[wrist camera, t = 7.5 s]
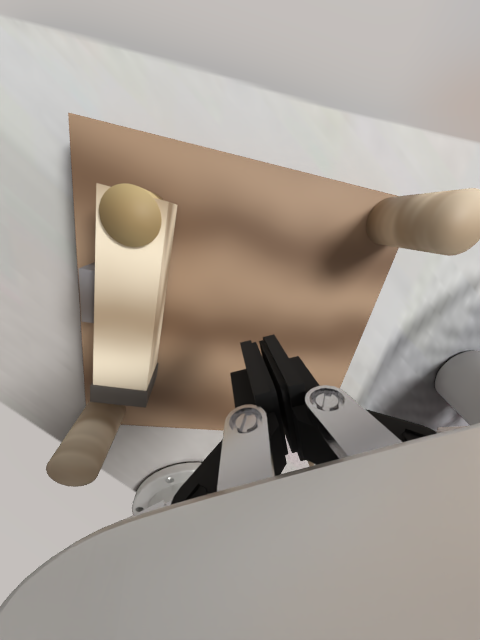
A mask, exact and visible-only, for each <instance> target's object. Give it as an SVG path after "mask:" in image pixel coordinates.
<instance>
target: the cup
mask: <svg viewBox="0 0 480 640" xmlns="http://www.w3.org/2000/svg"><path fill="white" fill-rule="evenodd" d="M435 388H436V390H437V392H438V393H439V394H440V395H441V396H442V397H443V398H444V399H445V400H446V401H447V402H448V403H449V404H450V405H451V406H452V407H453V408H454V409H455V410H456V411H457V412H458V413H459V415H460V416H461V417H462V418H463V419H464V420H465V421H466V422H467V423H468V424H469V425H474V424H478V423H480V351H474V350H473V351H466V352H463V353H461V354H458V355H456V356H454V357H453V358H451V359H450V360H448V361H447V362H446V363H445V364H444V365H443V366H442V367H441V368H440V370H439V372H438V374H437V376H436V380H435Z"/></svg>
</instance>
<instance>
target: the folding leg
mask: <svg viewBox="0 0 480 640" xmlns="http://www.w3.org/2000/svg"><path fill="white" fill-rule="evenodd" d="M176 213H177V205H176V204H174V203H171V202H168V201H164V200H163V199H162V198H161V197H160V196H159V195H157V194H155V193H153V192H150V191H148V190H146V189H143V188H141V187H138V186H136V185H133V184H126V183H123V184H117V185H114V186H112V187H110V186H106V185H102V184H98V183H96V238H95V293H94V349H93V382H92V384H91V385H90V402H97V403H106V404H116V405H125V406H135V407H144V408H146V406H147V403H148V400H149V397H150V394H151V392H152V389H153V386H154V383H155V380H156V377H157V371H158V363H157V359H158V351H159V343H160V336H161V328H162V320H163V313H164V305H165V297H166V290H167V282H168V274H169V266H170V259H171V251H172V243H173V236H174V228H175V220H176Z"/></svg>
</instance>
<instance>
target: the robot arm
mask: <svg viewBox="0 0 480 640" xmlns="http://www.w3.org/2000/svg"><path fill="white" fill-rule="evenodd" d="M259 343H260V348H261V353H262V355H261V353H260V350H259V348H258V345H257V343H256V342H253V343H252V342H251V340H249V341H244V342H240V345H241V350H242V354H243V358H244V363H245V367H246V369H243V370H239V371H235V372H231V373H230V376H231V383H232V390H233V397H234V404H235V409H234V410H232V411H231V412H230V413H229V414H228V416H227V417H226V420H225V424H224V433H223V439H222V441H221V442H220V443H219V444H218V445H217V446H216V447H215V449H214V450H213V451H212V452H211V453H210V454H209V455H208V456H207V458H206V459H205V460H204V461H203V462H202V463H200V462H195V463H183V464H177V465H173V466H170V467H167V468H164V469H162V470H160V471H158V472H156V473H154V474H153V475H151V476H150V477H148V478H147V479H146V480H145V481H144V482H143V483H142V484H141V485H140V487H139V488H138V490H137V492H136V495H135V498H134V501H133V506H132V512H133V516H131V517H129V518H127V519H124V520H121V521H119V522H116V523H114V524H112V525H109V526H107V527H104V528H102V529H100V530H98V531H96V532H94V533H92V534H90V535H88V536H86V537H84V538H82V539H80V540H79V541H77V542H75V543H73V544H72V545H70V546H69V547H67V548H66V549H64V550H63V551H61V552H60V553H58V554H57V555H55V556H53V557H52V558H50V559H49V560H48V561H46V562H45V563H44V564H43V565H41V566H40V567H39V568H37V569H36V570H35V571H34V572H33V573H32V574H30V575H29V576H28V577H27V578H25V580H23V581H22V582H21V584H20V585H18V587H17V588H16V589H15V590H14V591H13V592H12V593H11V594H10V595H9V596H8V598H7V599H6V600H5V601H4V602H3V604H2V605H1V606H0V640H480V423H478V424H474V425H470V426H456V427H438V428H437V432H435V431H433V430H432V429H430V428H427V427H425V426H422V425H419V424H416V423H412V422H408V421H405V420H401V419H398V418H394V417H391V416H387V415H384V414H380V413H377V412H373V411H370V410H366V409H364V408H363V407H362V406H361V405H360V404H359V403H357V402H356V401H355V400H354V399H353V398H352V397H351V396H349V395H348V394H347V393H346V392H345V391H343V390H342V389H340V388H337V387H335V386H329V385H323V386H320V385H319V384H318V382H317V381H316V380H315V378H314V377H313V375H312V374H311V373H310V371H309V370H308V368H307V367H306V366H305V364H304V363H303V361H302V360H301V359H300V357H299V356H296V357H292V358H289V357H288V356H287V354H286V352H285V351H284V349H283V348H282V346H281V344H280V343H279V341H278V340H277V338H276V336H275V335H274V334H273V335H269V336H265V337H263V340H261V341H259ZM284 433H285V434H284ZM285 435H286V438H287V441H288V443H289V446H290V449H291V451H292V453H295V452H297V453H298V456H299V458H300V461H303V460H307V461H310V462H312V463H314V466H311V467H307V468H303V469H299V470H296V471H292V472H288V473H284V474H281V472H282V470H283V469H284V467H285V465H286V464H287V463H286V458H285V455H287V454H288V450H287V445H286V439H285ZM280 474H281V475H280Z"/></svg>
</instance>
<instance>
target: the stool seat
mask: <svg viewBox="0 0 480 640" xmlns="http://www.w3.org/2000/svg"><path fill="white" fill-rule="evenodd" d="M68 116H69V132H70V149H71V166H72V183H73V200H74V216H75V233H76V250H77V267H78V283H79V300H80V317H81V334H82V351H83V367H84V384H85V401H86V407H85V408H84V410H83V411H82V413H81V414H80V416H79V417H78V419H77V420H76V422H75V423H74V425H73V426H72V428H71V429H70V431H69V432H68V434H67V435H66V437H65V438H64V440H63V441H62V443H61V444H60V446H59V448H58V449H57V450H56V452H55V453H54V455H53V456H52V458H51V459H50V461H49V462H48V464H47V467H46V470H47V474H48V475H49V477H50V478H51V479H53V480H54V481H56V482H57V483H60V484H62V485H66V486H84V485H87V484H89V483H91V482H93V481H94V480H95V479H96V477H97V476H98V474H99V471H100V469H101V467H102V465H103V462H104V460H105V458H106V456H107V453H108V451H109V449H110V447H111V444H112V442H113V440H114V438H115V435H116V433H117V431H118V429H119V426H120V424H121V425H138V426H155V427H173V428H190V429H208V430H224V424H225V420H226V417H227V416H228V414H229V413H230V412H231V411H232V410H234V409H235V404H234V397H233V390H232V383H231V376H230V373H231V372H235V371H239V370H243V369H246V367H245V363H244V358H243V354H242V350H241V345H240V342H244V341H249V340H251V342H252V343H253V342H256V343H257V345H258V348H259V350H260V353H261V348H260V343H259V341H261V340H263V337H265V336H269V335H273V334H274V335H275V336H276V338H277V340H278V341H279V343H280V344H281V346H282V348H283V349H284V351H285V352H286V354H287V356H288V357H289V358H292V357H296V356H299V357H300V359H301V360H302V361H303V363H304V364H305V366H306V367H307V368H308V370H309V371H310V373H311V374H312V375H313V377H314V378H315V380H316V381H317V382H318V384H319V385H320V386H323V385H329V386H335V387H337V388H340V386H341V384H342V382H343V379H344V377H345V375H346V372H347V370H348V367H349V365H350V363H351V360H352V358H353V355H354V353H355V351H356V348H357V346H358V344H359V341H360V339H361V336H362V334H363V332H364V329H365V327H366V324H367V322H368V320H369V317H370V315H371V312H372V310H373V308H374V305H375V303H376V301H377V298H378V296H379V293H380V291H381V289H382V286H383V284H384V281H385V279H386V277H387V274H388V272H389V270H390V267H391V265H392V262H393V260H394V258H395V255H396V253H397V250H398V248H405V249H411V250H417V251H424V252H430V253H436V254H442V255H457V254H460V253H463V252H465V251H467V250H468V249H470V248H471V247H472V246H473V245H475V244H476V243H477V242H478V241H479V239H480V190H479V189H475V188H469V189H460V190H451V191H442V192H433V193H425V194H416V195H407V196H396V195H392V194H388V193H384V192H380V191H376V190H372V189H368V188H364V187H360V186H356V185H352V184H348V183H344V182H341V181H337V180H333V179H329V178H325V177H321V176H317V175H313V174H309V173H305V172H301V171H297V170H293V169H289V168H285V167H281V166H277V165H273V164H269V163H265V162H261V161H258V160H254V159H250V158H246V157H242V156H238V155H234V154H230V153H226V152H222V151H218V150H214V149H210V148H206V147H202V146H198V145H194V144H190V143H186V142H182V141H178V140H175V139H171V138H167V137H163V136H159V135H155V134H151V133H147V132H143V131H139V130H135V129H131V128H127V127H123V126H119V125H115V124H111V123H107V122H103V121H99V120H95V119H91V118H88V117H84V116H80V115H76V114H72V113H68ZM96 183H98V184H102V185H106V186H110V187H112V186H114V185H117V184H123V183H126V184H133V185H136V186H138V187H141V188H143V189H146V190H148V191H150V192H153V193H155V194H157V195H159V196H160V197H161V198H162V199H163V200H164V201H168V202H171V203H174V204H176V205H177V213H176V220H175V228H174V236H173V243H172V251H171V259H170V266H169V274H168V282H167V290H166V297H165V305H164V313H163V320H162V328H161V336H160V343H159V351H158V359H157V363H158V371H157V377H156V380H155V383H154V386H153V389H152V392H151V394H150V397H149V400H148V403H147V406H146V408H144V407H135V406H125V405H116V404H106V403H97V402H90V385H91V384H92V382H93V349H94V293H95V238H96ZM261 355H262V353H261ZM284 434H285V433H284ZM308 463H309V466H310V467H311V466H314V463H312V462H310V461H308Z"/></svg>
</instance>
